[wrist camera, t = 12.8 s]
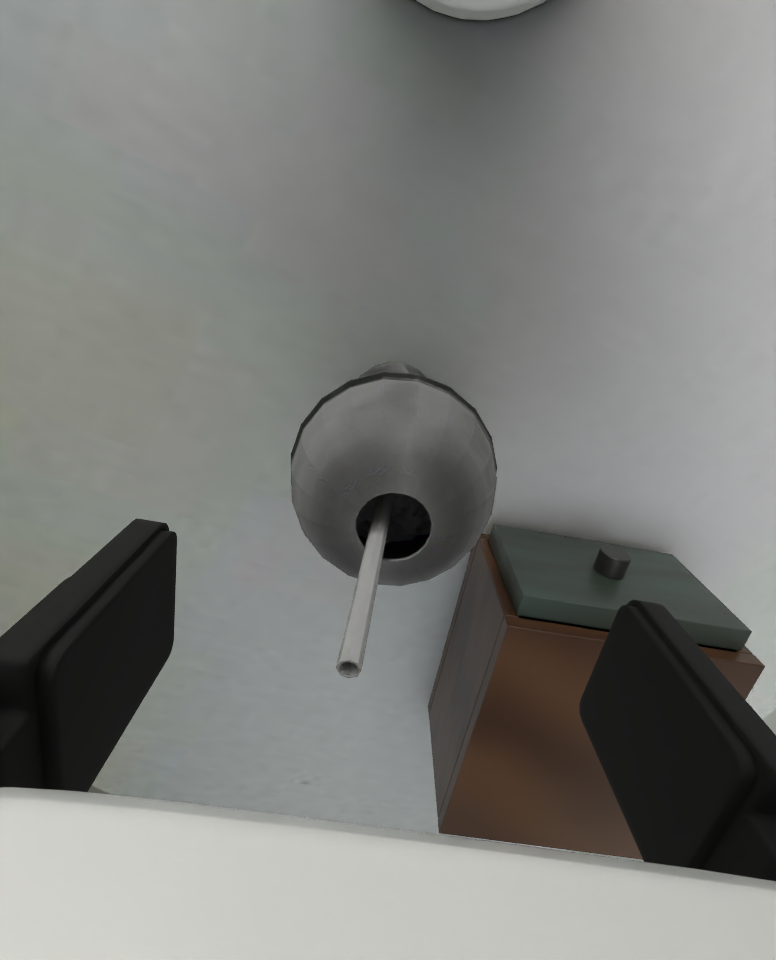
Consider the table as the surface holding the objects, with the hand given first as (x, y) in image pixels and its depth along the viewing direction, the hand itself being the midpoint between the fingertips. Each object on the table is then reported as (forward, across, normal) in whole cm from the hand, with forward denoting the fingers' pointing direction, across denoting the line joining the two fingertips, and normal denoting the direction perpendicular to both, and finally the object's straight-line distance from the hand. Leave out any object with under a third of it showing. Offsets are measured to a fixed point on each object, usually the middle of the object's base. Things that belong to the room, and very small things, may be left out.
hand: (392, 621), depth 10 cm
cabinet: (+19, -13, +14) cm, 27 cm away
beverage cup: (+19, 0, 0) cm, 19 cm away
